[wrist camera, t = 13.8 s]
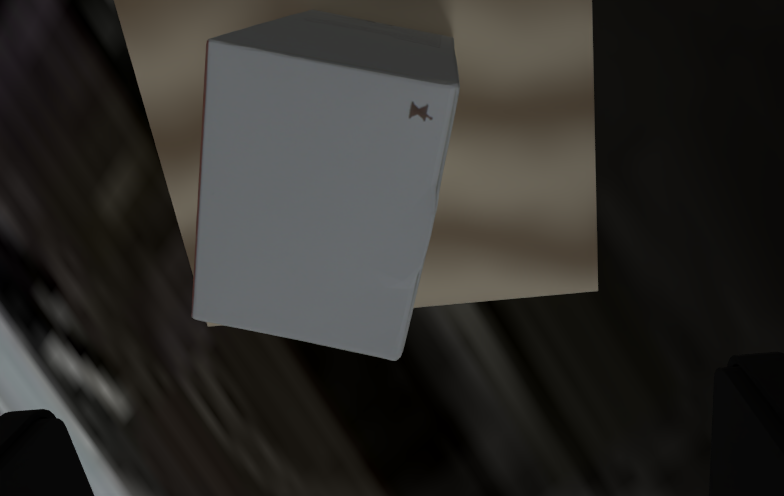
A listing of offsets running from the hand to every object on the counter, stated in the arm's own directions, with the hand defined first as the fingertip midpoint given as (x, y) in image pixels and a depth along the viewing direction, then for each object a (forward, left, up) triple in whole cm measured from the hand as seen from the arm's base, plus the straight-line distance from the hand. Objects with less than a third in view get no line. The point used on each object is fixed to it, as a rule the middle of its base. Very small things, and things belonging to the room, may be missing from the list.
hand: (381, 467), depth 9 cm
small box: (+1, +2, -21) cm, 22 cm away
